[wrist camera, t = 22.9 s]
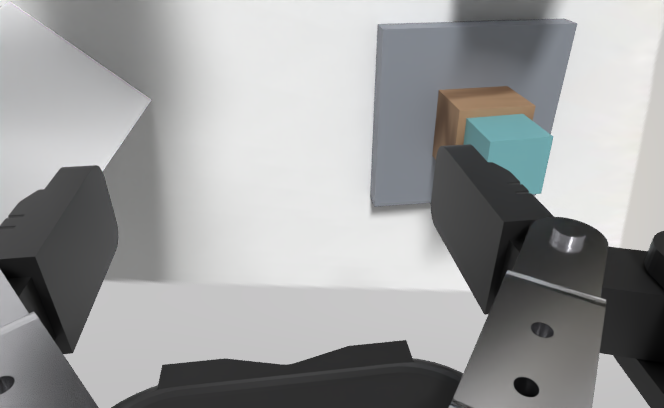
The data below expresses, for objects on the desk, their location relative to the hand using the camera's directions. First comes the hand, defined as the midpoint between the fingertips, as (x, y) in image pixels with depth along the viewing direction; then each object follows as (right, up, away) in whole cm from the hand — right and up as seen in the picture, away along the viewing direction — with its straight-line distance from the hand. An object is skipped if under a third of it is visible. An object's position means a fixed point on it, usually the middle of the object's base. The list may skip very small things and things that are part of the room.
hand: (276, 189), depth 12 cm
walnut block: (+13, +7, +31) cm, 34 cm away
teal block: (+14, +4, +27) cm, 30 cm away
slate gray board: (+13, +8, +33) cm, 36 cm away
